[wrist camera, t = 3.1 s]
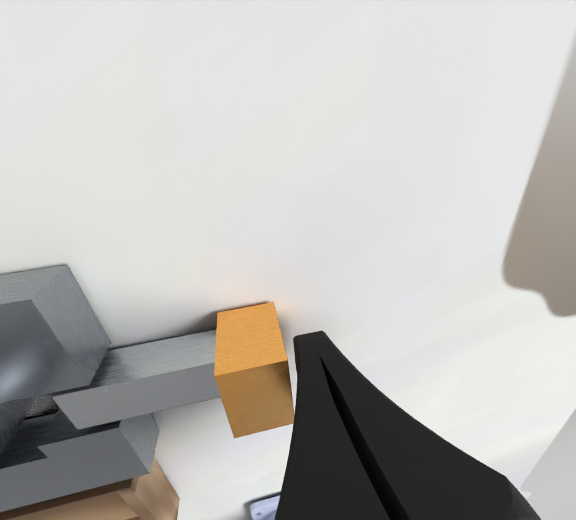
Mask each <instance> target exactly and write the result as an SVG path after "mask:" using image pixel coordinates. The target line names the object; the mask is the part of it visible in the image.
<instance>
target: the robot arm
mask: <svg viewBox="0 0 576 520" xmlns="http://www.w3.org/2000/svg"><path fill="white" fill-rule="evenodd" d="M293 342H294V352H295V363H296V370H297V394H296V407H295V417H294V424H293V432H292V438H291V444H290V450H289V456H288V461H287V466H286V471H285V476H284V480H283V485H282V490H281V494H280V495H279V496H276V497H272V498H269V499H265V500H262V501H258V502H255V503H253V504H251V506H250V514H251V516H252V519H253V520H541V519H540V517H539V516H538V515H537V513H536V512H535V511H534V510H533V508H532V507H531V506H530V504H529V503H528V502H527V500H526V499H525V498H524V497H523V496H522V494H521V493H520V492H519V491H518V490H517V489H516V488H515V487H514V485H513V484H512V483H511V482H510V481H509V480H508V479H507V477H506V476H504V475H502V474H500V473H499V472H497V471H495V470H493V469H492V468H490V467H488V466H486V465H485V464H483V463H481V462H480V461H478V460H476V459H475V458H473V457H471V456H470V455H468V454H466V453H465V452H463V451H462V450H460V449H458V448H457V447H455V446H454V445H452V444H451V443H449V442H447V441H446V440H444V439H443V438H441V437H440V436H439V435H437V434H436V433H434V432H433V431H431V430H430V429H429V428H427V427H426V426H424V425H423V424H421V423H420V422H419V421H417V420H416V419H414V418H413V417H412V416H410V415H409V414H408V413H406V412H405V411H404V410H403V409H401V408H400V407H399V406H397V405H396V404H395V403H394V402H393V401H391V400H390V399H389V398H388V397H387V396H385V395H384V394H383V393H382V392H381V391H380V390H378V389H377V388H376V387H375V386H374V385H373V384H372V383H371V382H370V381H369V380H368V379H367V378H365V377H364V376H363V375H362V374H361V373H360V372H359V371H358V370H357V369H356V368H355V367H354V365H353V364H352V363H351V362H350V361H349V360H348V359H347V358H346V357H345V356H344V355H343V354H342V353H341V352H340V350H339V349H338V348H337V347H336V346H335V345H334V343H333V342H332V341H331V340H330V339H329V337H328V336H327V335H326V333H325V332H323V331H318V332H313V333H308V334H303V335H298V336H295V337H294V338H293Z"/></svg>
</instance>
